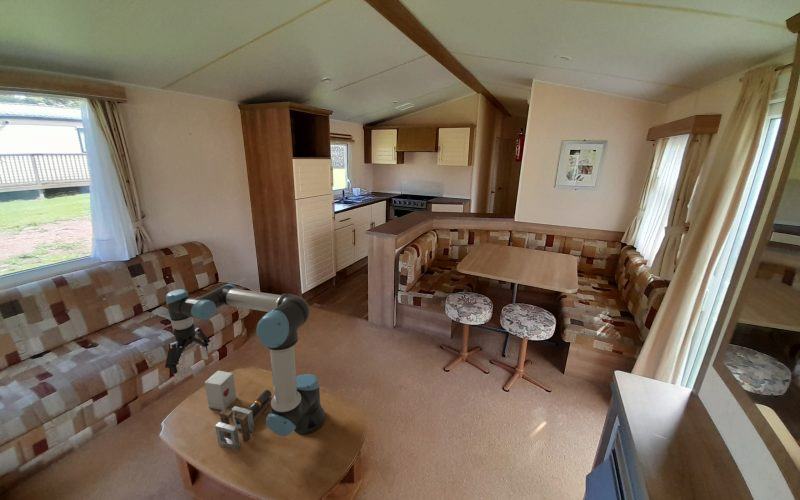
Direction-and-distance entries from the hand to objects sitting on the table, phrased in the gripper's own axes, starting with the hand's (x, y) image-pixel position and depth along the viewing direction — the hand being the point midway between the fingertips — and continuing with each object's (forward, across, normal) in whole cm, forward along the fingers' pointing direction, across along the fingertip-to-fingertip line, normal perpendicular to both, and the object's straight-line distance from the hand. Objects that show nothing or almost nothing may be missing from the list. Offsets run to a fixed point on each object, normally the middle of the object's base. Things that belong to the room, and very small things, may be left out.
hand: (192, 368), depth 140 cm
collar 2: (+28, 0, +23) cm, 36 cm away
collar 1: (+28, +9, +23) cm, 37 cm away
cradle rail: (+28, -11, +23) cm, 37 cm away
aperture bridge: (+28, +4, +23) cm, 36 cm away
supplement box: (+28, -10, +2) cm, 30 cm away
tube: (+25, -9, +23) cm, 35 cm away
